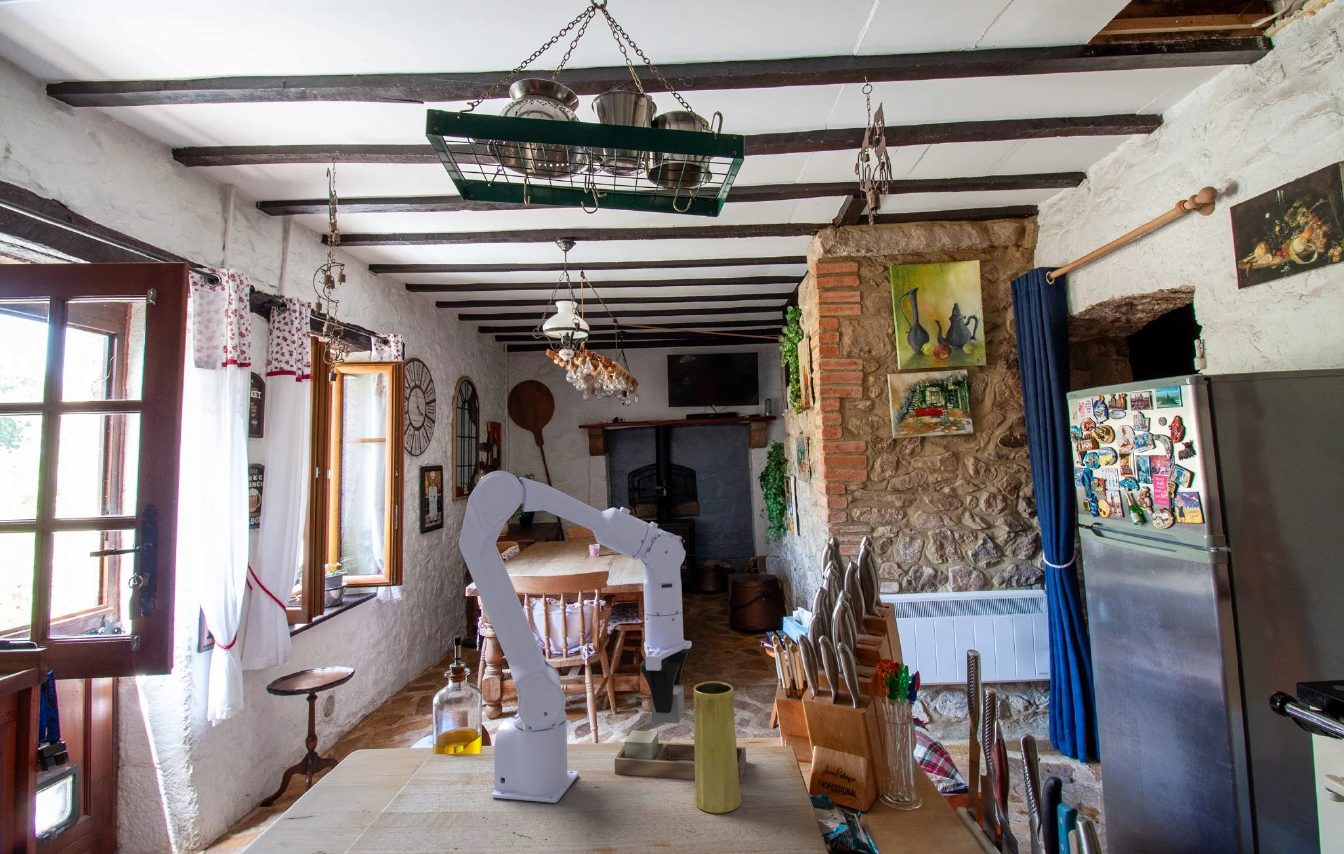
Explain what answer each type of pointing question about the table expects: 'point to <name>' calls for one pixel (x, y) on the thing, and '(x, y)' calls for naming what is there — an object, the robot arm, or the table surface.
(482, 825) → the table surface
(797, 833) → the table surface
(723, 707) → the vase
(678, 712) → the grey block
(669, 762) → the walnut rack
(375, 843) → the table surface
